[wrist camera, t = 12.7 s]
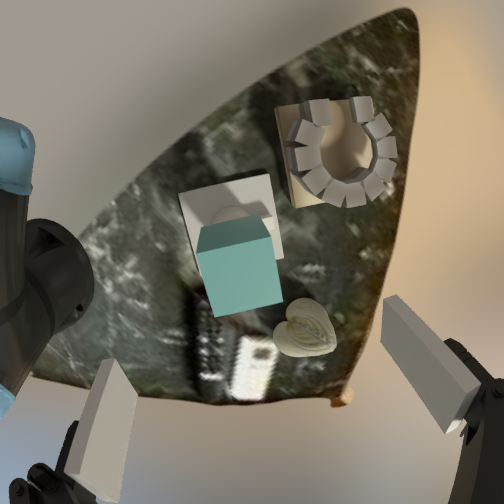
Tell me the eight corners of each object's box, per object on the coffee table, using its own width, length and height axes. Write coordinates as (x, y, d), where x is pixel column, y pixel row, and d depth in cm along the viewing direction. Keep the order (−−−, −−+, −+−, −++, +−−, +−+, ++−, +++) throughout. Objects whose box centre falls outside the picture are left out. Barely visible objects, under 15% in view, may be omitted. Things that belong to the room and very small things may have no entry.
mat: (201, 274, 35) (200, 276, 34) (178, 193, 31) (178, 194, 31) (282, 255, 35) (283, 257, 35) (268, 173, 32) (269, 173, 31)
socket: (291, 204, 33) (305, 216, 28) (273, 108, 29) (285, 102, 24) (375, 188, 33) (400, 197, 28) (363, 100, 29) (388, 95, 24)
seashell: (300, 285, 34) (356, 320, 33) (297, 294, 43) (343, 322, 41) (262, 343, 33) (319, 378, 31) (267, 340, 41) (313, 369, 39)
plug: (215, 254, 34) (214, 317, 22) (204, 210, 32) (195, 253, 20) (275, 240, 34) (306, 296, 22) (267, 196, 32) (297, 230, 20)
